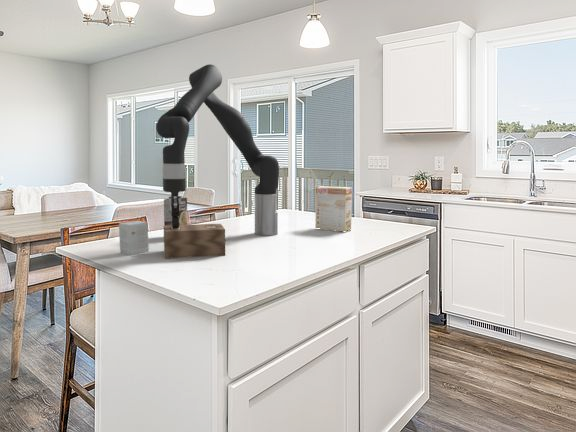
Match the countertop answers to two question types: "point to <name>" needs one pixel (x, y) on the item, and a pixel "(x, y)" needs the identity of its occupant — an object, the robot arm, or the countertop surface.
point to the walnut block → (194, 241)
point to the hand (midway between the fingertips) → (175, 228)
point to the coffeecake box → (333, 208)
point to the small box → (133, 237)
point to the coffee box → (182, 212)
